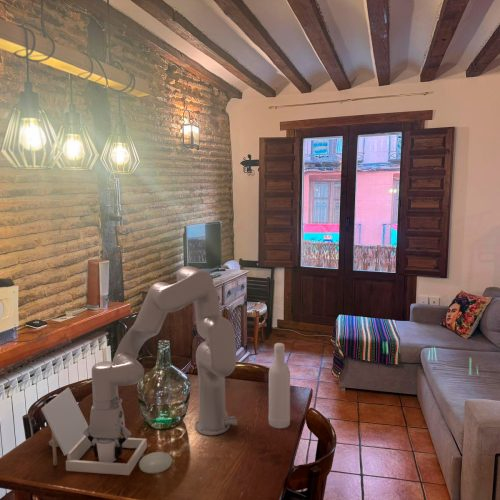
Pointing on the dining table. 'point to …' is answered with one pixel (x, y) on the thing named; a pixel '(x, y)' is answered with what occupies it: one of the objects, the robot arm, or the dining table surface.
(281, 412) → the bottle
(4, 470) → the dining table surface
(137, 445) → the cold frame
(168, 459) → the saucer
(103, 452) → the shot glass
